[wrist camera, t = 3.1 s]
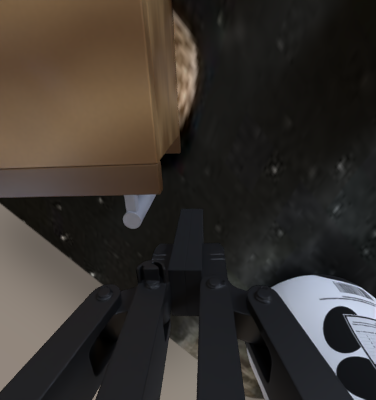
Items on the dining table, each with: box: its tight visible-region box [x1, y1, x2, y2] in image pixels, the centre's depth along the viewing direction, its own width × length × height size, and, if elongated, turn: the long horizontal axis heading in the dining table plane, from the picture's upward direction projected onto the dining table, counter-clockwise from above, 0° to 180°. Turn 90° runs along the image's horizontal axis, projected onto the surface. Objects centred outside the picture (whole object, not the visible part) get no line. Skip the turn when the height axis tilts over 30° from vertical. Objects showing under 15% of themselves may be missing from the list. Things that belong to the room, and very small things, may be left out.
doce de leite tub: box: [246, 274, 376, 400], centre depth 25 cm, size 17×17×18 cm
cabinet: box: [0, 0, 181, 198], centre depth 18 cm, size 14×20×13 cm
